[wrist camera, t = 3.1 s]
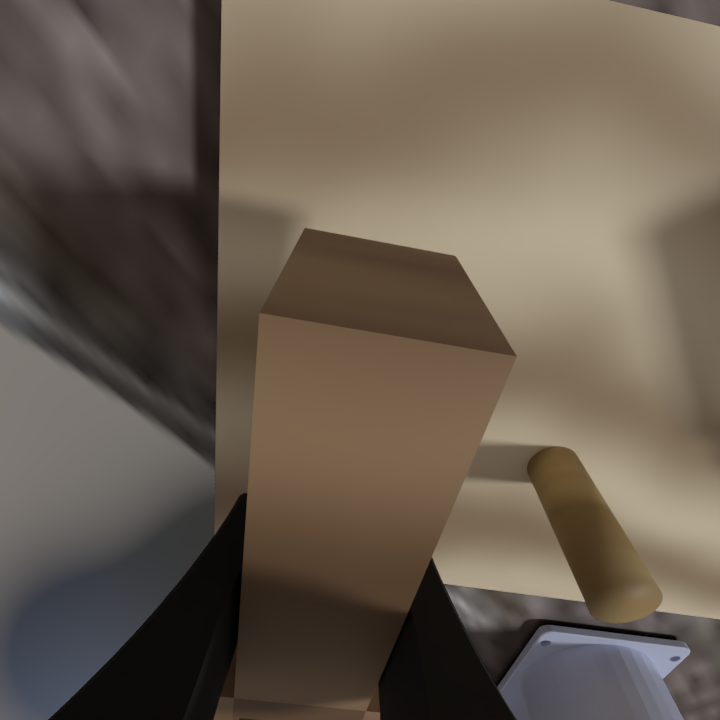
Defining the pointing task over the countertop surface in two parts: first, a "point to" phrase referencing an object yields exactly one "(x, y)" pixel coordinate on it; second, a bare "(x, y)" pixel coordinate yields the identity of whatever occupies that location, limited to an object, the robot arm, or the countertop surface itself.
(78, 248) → the countertop surface
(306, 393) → the link
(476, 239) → the board
